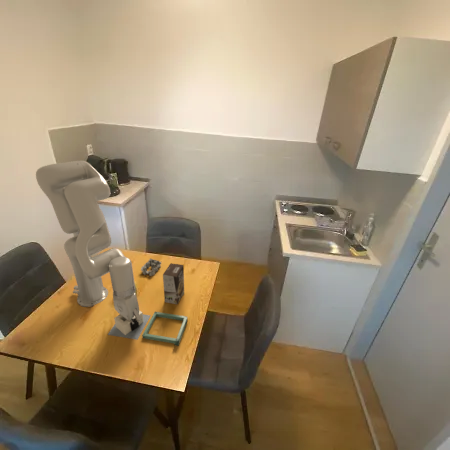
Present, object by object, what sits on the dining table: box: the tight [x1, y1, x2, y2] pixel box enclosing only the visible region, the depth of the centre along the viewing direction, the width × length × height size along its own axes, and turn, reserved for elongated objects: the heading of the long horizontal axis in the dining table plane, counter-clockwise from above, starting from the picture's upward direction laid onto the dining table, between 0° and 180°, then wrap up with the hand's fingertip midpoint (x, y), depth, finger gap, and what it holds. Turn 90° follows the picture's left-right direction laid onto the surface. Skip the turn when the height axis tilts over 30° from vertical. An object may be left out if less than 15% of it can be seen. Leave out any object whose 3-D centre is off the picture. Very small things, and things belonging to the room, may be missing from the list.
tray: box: [141, 311, 188, 347], centre depth 99 cm, size 14×12×2 cm
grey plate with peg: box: [107, 313, 152, 341], centre depth 98 cm, size 12×12×8 cm
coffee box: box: [162, 262, 185, 305], centre depth 112 cm, size 9×6×16 cm
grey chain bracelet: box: [140, 258, 162, 277], centre depth 133 cm, size 11×8×4 cm
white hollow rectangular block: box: [114, 309, 144, 335], centre depth 98 cm, size 8×6×5 cm
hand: (129, 323), depth 99 cm, fingers closed on white hollow rectangular block, 6 cm apart
